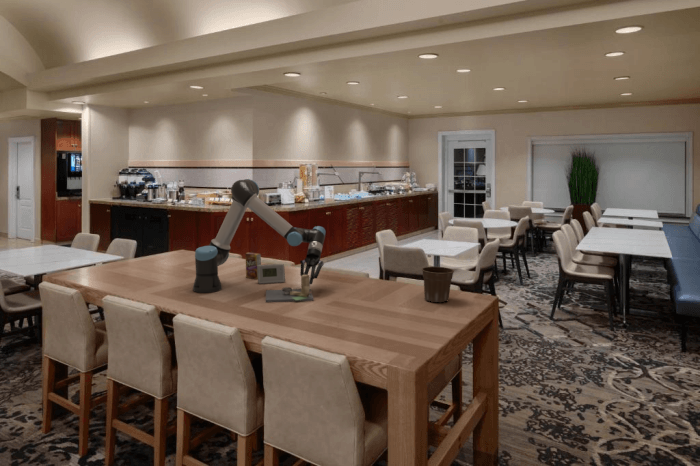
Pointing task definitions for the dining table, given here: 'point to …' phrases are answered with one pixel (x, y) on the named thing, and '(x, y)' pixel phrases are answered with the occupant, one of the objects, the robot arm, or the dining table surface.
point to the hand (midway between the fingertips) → (305, 288)
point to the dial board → (286, 296)
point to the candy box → (252, 264)
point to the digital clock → (271, 273)
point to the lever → (304, 287)
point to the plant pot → (437, 283)
